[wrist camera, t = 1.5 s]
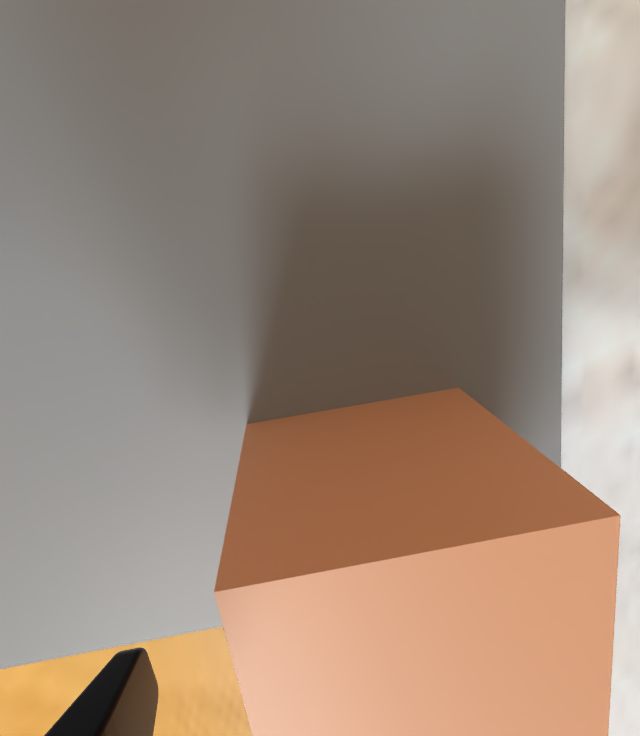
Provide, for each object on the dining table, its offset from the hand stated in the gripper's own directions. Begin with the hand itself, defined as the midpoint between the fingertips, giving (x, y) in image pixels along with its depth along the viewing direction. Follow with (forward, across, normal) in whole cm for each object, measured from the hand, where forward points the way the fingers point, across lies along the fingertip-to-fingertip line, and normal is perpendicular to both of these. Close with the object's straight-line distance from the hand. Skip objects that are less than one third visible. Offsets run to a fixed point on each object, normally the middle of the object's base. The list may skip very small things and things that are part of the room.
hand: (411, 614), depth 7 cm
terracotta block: (+4, 0, 0) cm, 4 cm away
